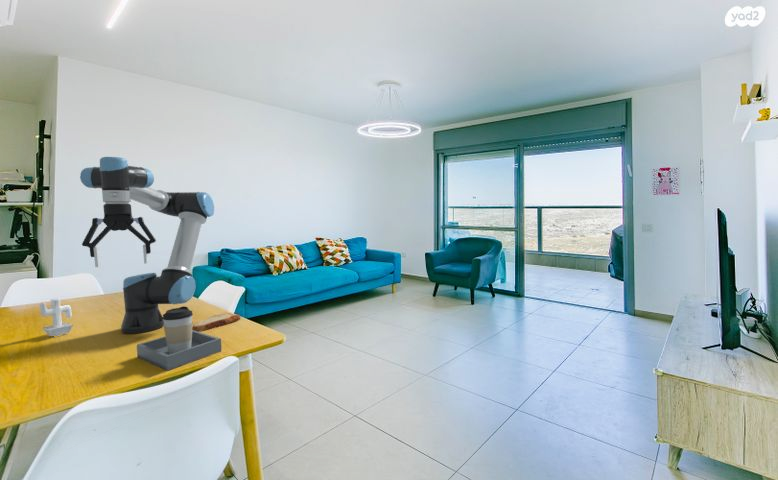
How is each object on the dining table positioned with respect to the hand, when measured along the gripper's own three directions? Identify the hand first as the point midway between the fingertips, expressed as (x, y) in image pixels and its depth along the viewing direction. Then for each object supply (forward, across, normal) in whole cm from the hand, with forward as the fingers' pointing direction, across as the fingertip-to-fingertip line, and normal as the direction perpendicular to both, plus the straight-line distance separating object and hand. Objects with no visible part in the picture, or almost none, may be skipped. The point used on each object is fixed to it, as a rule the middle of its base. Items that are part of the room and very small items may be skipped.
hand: (122, 264), depth 122 cm
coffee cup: (+30, +16, -12) cm, 36 cm away
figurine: (+32, -30, +36) cm, 56 cm away
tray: (+31, +16, -12) cm, 37 cm away
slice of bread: (+32, +28, +19) cm, 47 cm away
